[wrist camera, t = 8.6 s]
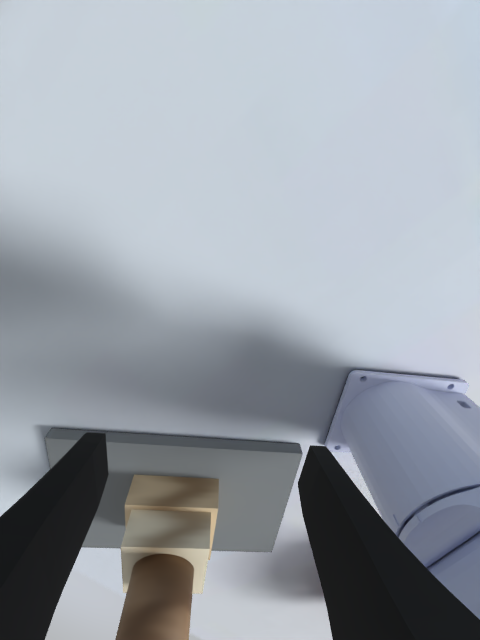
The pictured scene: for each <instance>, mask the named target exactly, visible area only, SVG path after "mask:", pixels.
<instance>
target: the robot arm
mask: <svg viewBox="0 0 480 640" xmlns="http://www.w3.org/2000/svg"><path fill="white" fill-rule="evenodd" d="M362 376H364V378H362V379H360V378H361V377H362ZM448 385H449V386H448ZM468 387H469V384H468V383H467V382H466V381H465V380H460V379H449V378H438V377H427V376H416V375H406V374H395V373H384V372H373V371H362V370H354V371H352V372H351V373H350V374H349V376H348V379H347V382H346V384H345V387H344V390H343V393H342V396H341V399H340V401H339V404H338V407H337V410H336V413H335V416H334V419H333V421H332V424H331V427H330V430H329V433H328V436H327V439H326V441H325V446H310V447H309V451H308V454H307V457H306V460H305V463H304V466H303V469H302V472H301V475H300V478H299V481H298V488H299V495H300V501H301V507H302V513H303V518H304V522H305V525H306V529H307V533H308V537H309V541H310V544H311V548H312V552H313V556H314V559H315V563H316V567H317V571H318V574H319V578H320V582H321V586H322V589H323V593H324V598H325V602H326V606H327V611H328V616H329V621H330V626H331V632H332V637H333V640H480V407H479V406H478V405H476V404H475V403H474V402H473V401H472V400H471V399H470V398H468V397H467V396H466V395H465V393H466V391H467V390H468ZM337 445H338V446H337ZM330 451H335V452H351V453H352V455H353V457H354V459H355V462H356V464H357V466H358V468H359V470H360V472H361V474H362V476H363V478H364V481H365V483H366V485H367V487H368V489H369V491H370V493H371V495H372V497H373V500H374V502H375V504H376V506H377V508H378V510H379V512H380V514H381V517H382V518H381V517H380V516H379V514H378V513H377V512H376V511H375V509H374V508H373V507H372V506H371V504H370V503H369V502H368V501H367V499H366V498H365V497H364V496H363V494H362V493H361V492H360V491H359V489H358V488H357V487H356V485H355V484H354V483H353V481H352V480H351V479H350V478H349V476H348V475H347V474H346V472H345V471H344V470H343V468H342V467H341V466H340V464H339V463H338V461H337V460H336V459H335V457H334V456H333V455H332V453H331V452H330ZM108 475H109V473H108V459H107V446H106V433H91V432H87V433H85V434H84V435H83V436H82V437H81V438H80V439H79V440H78V441H77V442H76V443H75V444H74V445H73V447H72V448H71V449H70V450H69V451H68V452H67V453H66V454H65V455H64V456H63V457H62V458H61V459H60V460H59V461H58V462H57V463H56V464H55V465H54V466H53V467H52V468H51V469H50V470H49V471H48V472H47V473H46V474H45V475H44V476H43V477H42V478H41V479H40V480H39V481H38V482H37V483H36V484H35V485H34V486H33V487H32V488H31V489H30V490H29V491H28V492H27V493H26V494H25V495H24V496H23V497H21V498H20V499H19V500H18V501H17V502H16V503H15V504H14V505H13V506H12V507H11V508H9V509H8V510H7V511H6V512H5V513H4V514H3V515H2V516H1V517H0V640H45V636H46V634H47V631H48V628H49V625H50V623H51V620H52V617H53V614H54V611H55V609H56V606H57V603H58V601H59V598H60V596H61V593H62V591H63V588H64V586H65V584H66V581H67V579H68V577H69V575H70V572H71V570H72V568H73V565H74V563H75V561H76V558H77V556H78V554H79V551H80V549H81V547H82V544H83V542H84V540H85V538H86V535H87V533H88V531H89V528H90V526H91V524H92V521H93V519H94V516H95V514H96V512H97V509H98V507H99V504H100V501H101V498H102V494H103V491H104V488H105V485H106V482H107V478H108Z"/></svg>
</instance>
